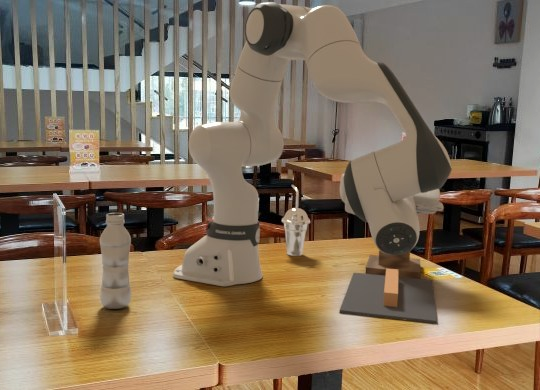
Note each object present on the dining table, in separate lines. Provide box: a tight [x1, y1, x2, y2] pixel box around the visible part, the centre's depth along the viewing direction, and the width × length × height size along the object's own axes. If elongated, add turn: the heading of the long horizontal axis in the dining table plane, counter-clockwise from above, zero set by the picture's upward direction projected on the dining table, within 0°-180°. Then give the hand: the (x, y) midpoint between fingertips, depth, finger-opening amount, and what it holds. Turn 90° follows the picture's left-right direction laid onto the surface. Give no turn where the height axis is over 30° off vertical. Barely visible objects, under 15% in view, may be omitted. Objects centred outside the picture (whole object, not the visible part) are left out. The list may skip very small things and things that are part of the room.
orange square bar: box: [383, 268, 398, 307], centre depth 138 cm, size 3×20×3 cm, turn 168°
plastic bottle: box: [99, 212, 133, 310], centre depth 123 cm, size 6×7×20 cm
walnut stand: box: [365, 249, 422, 279], centre depth 158 cm, size 14×14×26 cm
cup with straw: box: [281, 184, 311, 257], centre depth 173 cm, size 8×9×20 cm
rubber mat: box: [338, 272, 437, 324], centre depth 138 cm, size 20×30×1 cm, turn 166°
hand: (387, 178), depth 127 cm, fingers open, 8 cm apart
